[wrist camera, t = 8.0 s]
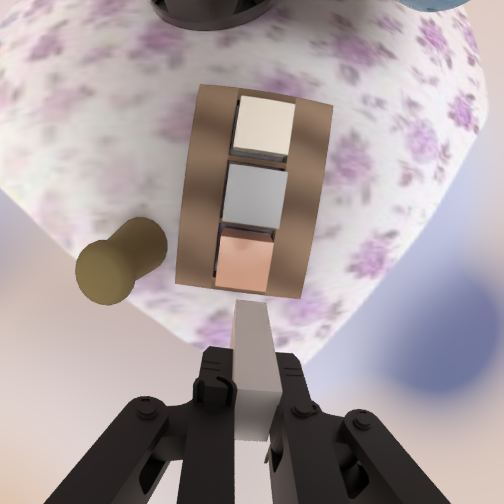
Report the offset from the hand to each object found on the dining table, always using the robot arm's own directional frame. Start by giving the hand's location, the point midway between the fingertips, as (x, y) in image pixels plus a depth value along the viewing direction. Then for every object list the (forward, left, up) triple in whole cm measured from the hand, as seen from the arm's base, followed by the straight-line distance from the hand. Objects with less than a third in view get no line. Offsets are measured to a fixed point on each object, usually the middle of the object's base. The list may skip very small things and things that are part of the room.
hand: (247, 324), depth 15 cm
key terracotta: (0, 0, -15) cm, 15 cm away
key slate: (-6, 0, -13) cm, 14 cm away
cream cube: (-12, 0, -15) cm, 19 cm away
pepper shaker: (+1, -11, -16) cm, 20 cm away
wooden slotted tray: (-6, 0, -16) cm, 17 cm away
